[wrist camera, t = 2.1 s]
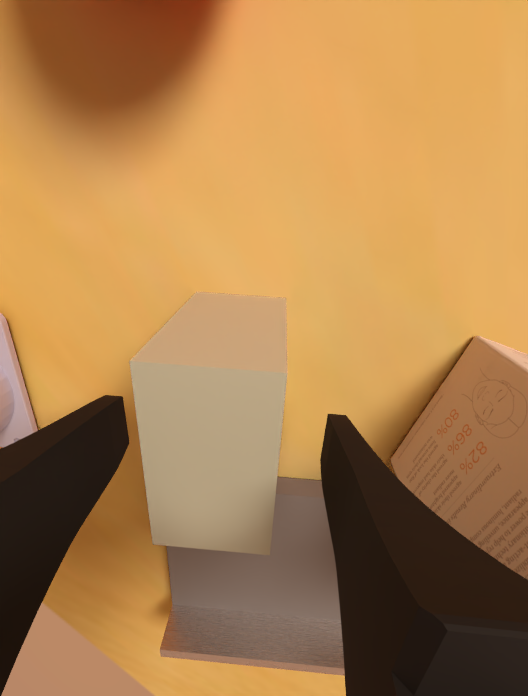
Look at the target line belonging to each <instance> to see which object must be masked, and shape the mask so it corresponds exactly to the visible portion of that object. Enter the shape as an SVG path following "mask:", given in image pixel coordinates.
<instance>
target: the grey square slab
mask: <svg viewBox="0 0 528 696" xmlns="http://www.w3.org/2000/svg"><path fill="white" fill-rule="evenodd" d="M167 555H168V565H169V575H170V585H171V594H172V608H171V611H170V615H169V619H168V622H167V626H166V629H165V633H164V637H163V640H162V644H161V647H160V654H161V656H162V657H171V658H181V659H191V660H200V661H210V662H220V663H229V664H239V665H248V666H258V667H268V668H277V669H287V670H296V671H306V672H316V673H325V674H335V675H344V676H345V671H344V656H343V642H342V629H341V616H340V604H339V593H338V582H337V571H336V563H335V556H334V550H333V545H332V539H331V534H330V528H329V523H328V518H327V512H326V507H325V501H324V495H323V490H322V481H320V480H308V479H297V478H285V477H277V485H276V496H275V506H274V516H273V527H272V537H271V547H270V555H261V554H250V553H239V552H228V551H218V550H207V549H196V548H185V547H175V546H167Z"/></svg>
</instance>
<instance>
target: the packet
mask: <svg viewBox="0 0 528 696" xmlns="http://www.w3.org/2000/svg"><path fill="white" fill-rule="evenodd" d="M130 369H131V377H132V385H133V393H134V401H135V409H136V417H137V424H138V432H139V440H140V448H141V456H142V464H143V472H144V480H145V488H146V496H147V503H148V511H149V519H150V527H151V535H152V543H153V545H164V546H175V547H185V548H196V549H207V550H218V551H228V552H239V553H250V554H261V555H270V547H271V537H272V527H273V516H274V506H275V496H276V485H277V475H278V464H279V454H280V444H281V433H282V423H283V413H284V402H285V392H286V382H287V320H286V298H281V297H267V296H252V295H238V294H224V293H209V292H196V293H195V294H194V295H193V296H192V297H191V298H190V299H189V300H188V301H187V302H186V303H185V304H184V305H183V306H182V307H181V308H180V309H179V310H178V311H177V312H176V313H175V314H174V315H173V316H172V318H171V319H170V320H169V321H168V322H167V323H166V324H165V325H164V326H163V327H162V328H161V329H160V330H159V331H158V332H157V333H156V334H155V335H154V336H153V337H152V338H151V339H150V340H149V341H148V342H147V343H146V344H145V345H144V347H143V348H142V349H141V350H140V351H139V352H138V353H137V354H136V355H135V356H134V357H133V358H132V359H131V360H130Z"/></svg>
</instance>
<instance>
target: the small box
mask: <svg viewBox="0 0 528 696" xmlns="http://www.w3.org/2000/svg"><path fill="white" fill-rule="evenodd" d="M391 464H392V466H393V469H394V471H395V474H396V476H397V478H398V479H399V480H400V481H401V482H402V483H403V484H404V485H405V486H406V487H407V488H408V489H409V490H410V491H411V492H412V493H413V494H414V495H415V496H417V497H418V498H419V499H420V500H421V501H422V502H423V503H424V504H425V505H426V506H427V507H429V508H430V509H431V510H432V511H433V512H434V513H436V514H437V515H438V516H439V517H440V518H442V519H443V520H444V521H445V522H447V523H448V524H449V525H450V526H452V527H453V528H454V529H455V530H457V531H458V532H459V533H460V534H462V535H463V536H464V537H466V538H467V539H468V540H470V541H471V542H473V543H474V544H475V545H477V546H478V547H479V548H481V549H482V550H484V551H485V552H487V553H488V554H489V555H491V556H492V557H494V558H495V559H497V560H498V561H499V562H501V563H502V564H504V565H505V566H507V567H508V568H510V569H511V570H513V571H515V572H516V573H518V574H519V575H521V576H523V577H524V578H526V579H527V580H528V354H526V353H523V352H521V351H518V350H515V349H513V348H510V347H508V346H505V345H502V344H500V343H497V342H494V341H492V340H489V339H486V338H484V337H481V336H475V337H474V338H473V340H472V341H471V343H470V344H469V346H468V347H467V349H466V350H465V352H464V353H463V354H462V356H461V357H460V359H459V360H458V362H457V363H456V365H455V366H454V368H453V369H452V370H451V372H450V373H449V375H448V376H447V378H446V379H445V381H444V382H443V383H442V385H441V386H440V388H439V389H438V391H437V392H436V394H435V395H434V397H433V398H432V400H431V401H430V402H429V404H428V405H427V407H426V408H425V410H424V411H423V412H422V414H421V415H420V417H419V418H418V420H417V421H416V423H415V424H414V426H413V427H412V428H411V430H410V431H409V433H408V434H407V436H406V437H405V439H404V440H403V442H402V443H401V445H400V446H399V448H398V449H397V450H396V452H395V453H394V455H393V456H392V458H391Z"/></svg>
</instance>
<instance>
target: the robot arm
mask: <svg viewBox="0 0 528 696" xmlns="http://www.w3.org/2000/svg"><path fill="white" fill-rule="evenodd" d="M128 445H129V437H128V430H127V423H126V416H125V410H124V403H123V397H121V396H109V395H105V396H103V397H101V398H99V399H97V400H95V401H93V402H91V403H89V404H87V405H85V406H83V407H81V408H80V409H78V410H76V411H74V412H72V413H70V414H69V415H67V416H65V417H63V418H61V419H59V420H57V421H56V422H54V423H52V424H50V425H48V426H46V427H44V428H42V429H40V430H38V429H37V426H36V422H35V419H34V415H33V412H32V408H31V405H30V401H29V397H28V394H27V390H26V387H25V383H24V380H23V376H22V373H21V369H20V366H19V362H18V359H17V355H16V352H15V348H14V345H13V341H12V338H11V334H10V331H9V327H8V324H7V321H6V319H5V317H4V316H3V315H2V314H1V313H0V447H3V448H1V449H0V696H1V694H2V692H3V690H4V687H5V685H6V682H7V680H8V678H9V675H10V673H11V670H12V668H13V665H14V663H15V661H16V658H17V656H18V654H19V651H20V649H21V647H22V645H23V643H24V640H25V638H26V636H27V633H28V631H29V629H30V627H31V625H32V622H33V620H34V618H35V616H36V614H37V611H38V609H39V607H40V605H41V603H42V601H43V599H44V597H45V595H46V593H47V590H48V588H49V586H50V584H51V582H52V580H53V578H54V576H55V574H56V572H57V570H58V568H59V566H60V564H61V562H62V560H63V558H64V556H65V554H66V552H67V550H68V548H69V547H70V545H71V543H72V541H73V539H74V538H75V536H76V534H77V532H78V531H79V529H80V527H81V526H82V524H83V523H84V521H85V519H86V518H87V516H88V515H89V513H90V512H91V510H92V508H93V507H94V505H95V504H96V502H97V501H98V499H99V497H100V496H101V494H102V493H103V491H104V490H105V488H106V486H107V485H108V483H109V482H110V480H111V478H112V477H113V475H114V474H115V472H116V470H117V469H118V466H119V464H120V462H121V460H122V458H123V456H124V454H125V451H126V449H127V447H128ZM320 461H321V478H322V490H323V495H324V501H325V507H326V512H327V518H328V523H329V528H330V534H331V539H332V545H333V550H334V556H335V563H336V571H337V582H338V593H339V604H340V616H341V629H342V642H343V656H344V671H345V685H346V696H528V580H527V579H526V578H524V577H523V576H521V575H519V574H518V573H516V572H515V571H513V570H511V569H510V568H508V567H507V566H505V565H504V564H502V563H501V562H499V561H498V560H497V559H495V558H494V557H492V556H491V555H489V554H488V553H487V552H485V551H484V550H482V549H481V548H479V547H478V546H477V545H475V544H474V543H473V542H471V541H470V540H468V539H467V538H466V537H464V536H463V535H462V534H460V533H459V532H458V531H457V530H455V529H454V528H453V527H452V526H450V525H449V524H448V523H447V522H445V521H444V520H443V519H442V518H440V517H439V516H438V515H437V514H436V513H434V512H433V511H432V510H431V509H430V508H429V507H427V506H426V505H425V504H424V503H423V502H422V501H421V500H420V499H419V498H418V497H417V496H415V495H414V494H413V493H412V492H411V491H410V490H409V489H408V488H407V487H406V486H405V485H404V484H403V483H402V482H401V481H400V480H399V479H398V478H397V477H396V476H395V475H394V474H393V473H392V472H391V471H390V469H389V468H388V467H387V466H386V465H385V464H384V463H383V462H382V460H381V459H380V458H379V457H378V456H377V454H376V453H375V452H374V451H373V450H372V448H371V447H370V446H369V445H368V443H367V442H366V441H365V440H364V438H363V437H362V436H361V434H360V433H359V432H358V431H357V429H356V428H355V427H354V425H353V424H352V423H351V421H350V420H349V419H348V417H347V416H346V415H336V414H328V417H327V423H326V429H325V435H324V441H323V447H322V453H321V459H320Z"/></svg>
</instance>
